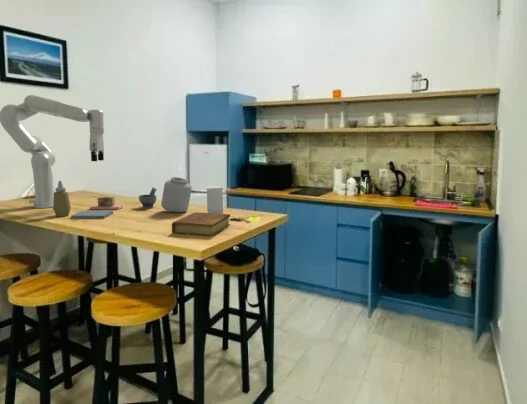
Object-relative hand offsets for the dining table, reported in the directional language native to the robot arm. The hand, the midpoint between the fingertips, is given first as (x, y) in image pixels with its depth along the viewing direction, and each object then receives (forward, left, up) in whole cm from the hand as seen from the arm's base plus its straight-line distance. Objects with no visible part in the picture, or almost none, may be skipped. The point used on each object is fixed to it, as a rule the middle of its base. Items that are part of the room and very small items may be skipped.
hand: (97, 160), depth 229 cm
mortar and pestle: (+31, -8, -27) cm, 41 cm away
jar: (+50, -21, -27) cm, 60 cm away
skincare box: (+71, -34, -27) cm, 83 cm away
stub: (+8, -12, -26) cm, 30 cm away
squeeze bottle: (-8, -32, -27) cm, 43 cm away
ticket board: (+8, -33, -27) cm, 43 cm away
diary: (+67, -63, -27) cm, 96 cm away
